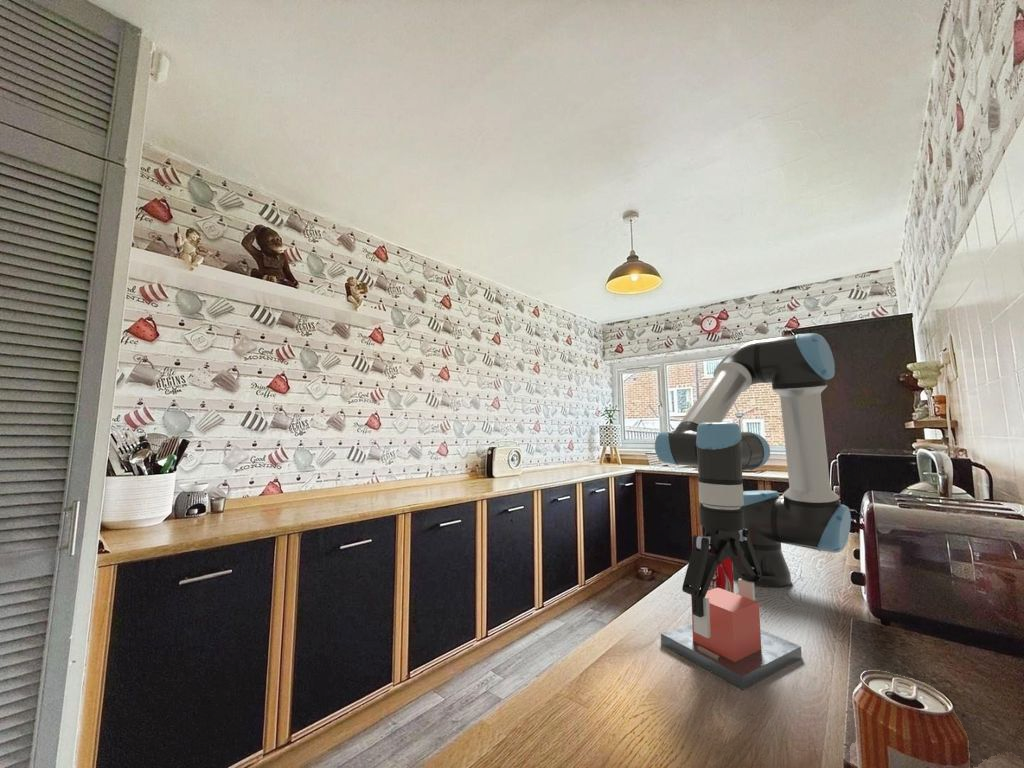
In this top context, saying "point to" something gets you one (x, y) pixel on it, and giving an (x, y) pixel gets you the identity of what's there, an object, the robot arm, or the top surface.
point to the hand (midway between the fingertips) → (725, 625)
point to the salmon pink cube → (731, 625)
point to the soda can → (723, 576)
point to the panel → (739, 673)
